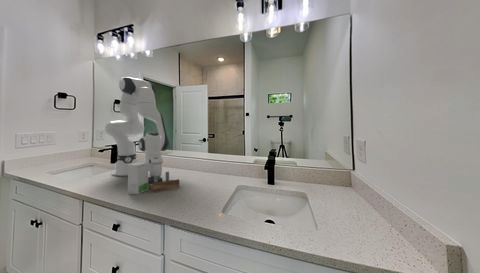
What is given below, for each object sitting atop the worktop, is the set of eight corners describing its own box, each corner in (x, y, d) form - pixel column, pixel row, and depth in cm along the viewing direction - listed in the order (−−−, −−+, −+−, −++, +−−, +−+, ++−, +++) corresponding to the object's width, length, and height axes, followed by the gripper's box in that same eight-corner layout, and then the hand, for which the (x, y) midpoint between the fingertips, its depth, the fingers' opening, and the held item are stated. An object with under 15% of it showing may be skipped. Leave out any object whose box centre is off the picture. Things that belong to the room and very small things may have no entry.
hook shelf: (148, 186, 105) (148, 172, 105) (172, 181, 114) (172, 168, 114) (153, 192, 96) (153, 177, 95) (179, 187, 105) (179, 172, 104)
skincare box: (137, 194, 93) (137, 165, 92) (127, 193, 94) (126, 164, 93) (149, 189, 101) (148, 162, 100) (139, 188, 102) (138, 161, 101)
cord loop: (145, 183, 111) (145, 178, 110) (159, 180, 116) (159, 175, 116) (147, 185, 106) (147, 180, 106) (162, 183, 111) (162, 178, 111)
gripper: (144, 156, 116) (144, 177, 117) (152, 161, 100) (152, 185, 101) (154, 155, 120) (155, 175, 121) (163, 160, 104) (164, 183, 105)
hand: (154, 180), depth 111 cm, fingers closed on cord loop, 6 cm apart
